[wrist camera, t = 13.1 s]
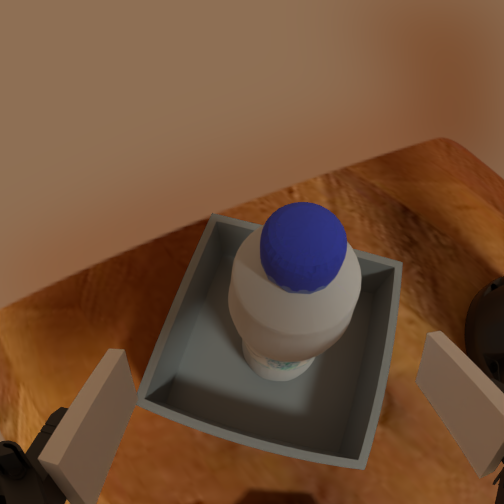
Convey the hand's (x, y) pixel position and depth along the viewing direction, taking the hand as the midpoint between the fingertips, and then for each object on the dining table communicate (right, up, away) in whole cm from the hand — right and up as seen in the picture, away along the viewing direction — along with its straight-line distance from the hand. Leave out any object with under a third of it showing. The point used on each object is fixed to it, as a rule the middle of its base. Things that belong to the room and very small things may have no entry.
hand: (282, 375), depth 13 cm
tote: (+1, -4, +17) cm, 18 cm away
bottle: (+1, -4, +16) cm, 17 cm away
